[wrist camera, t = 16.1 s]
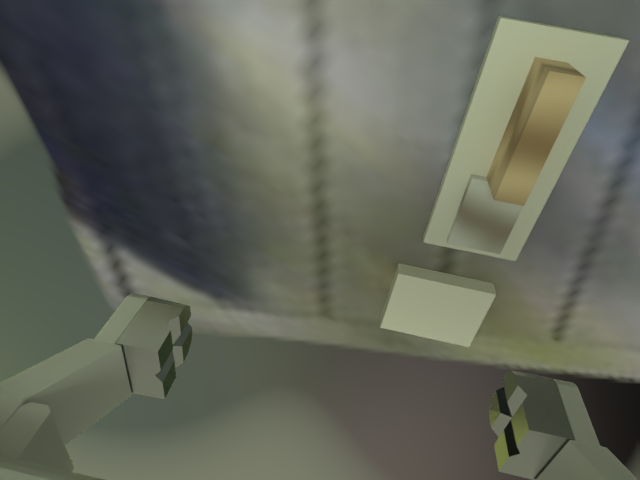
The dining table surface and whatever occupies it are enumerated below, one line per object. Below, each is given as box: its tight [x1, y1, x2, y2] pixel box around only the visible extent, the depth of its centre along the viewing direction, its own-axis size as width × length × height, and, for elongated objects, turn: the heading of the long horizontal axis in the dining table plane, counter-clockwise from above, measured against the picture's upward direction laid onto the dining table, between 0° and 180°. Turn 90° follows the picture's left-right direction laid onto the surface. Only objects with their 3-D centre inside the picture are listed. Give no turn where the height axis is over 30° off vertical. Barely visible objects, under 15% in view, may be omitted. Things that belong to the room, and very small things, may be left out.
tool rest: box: [423, 15, 629, 261], centre depth 37 cm, size 20×9×1 cm, turn 172°
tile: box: [380, 263, 496, 347], centre depth 48 cm, size 2×10×8 cm
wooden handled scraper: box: [447, 57, 586, 254], centre depth 36 cm, size 17×5×4 cm, turn 172°
